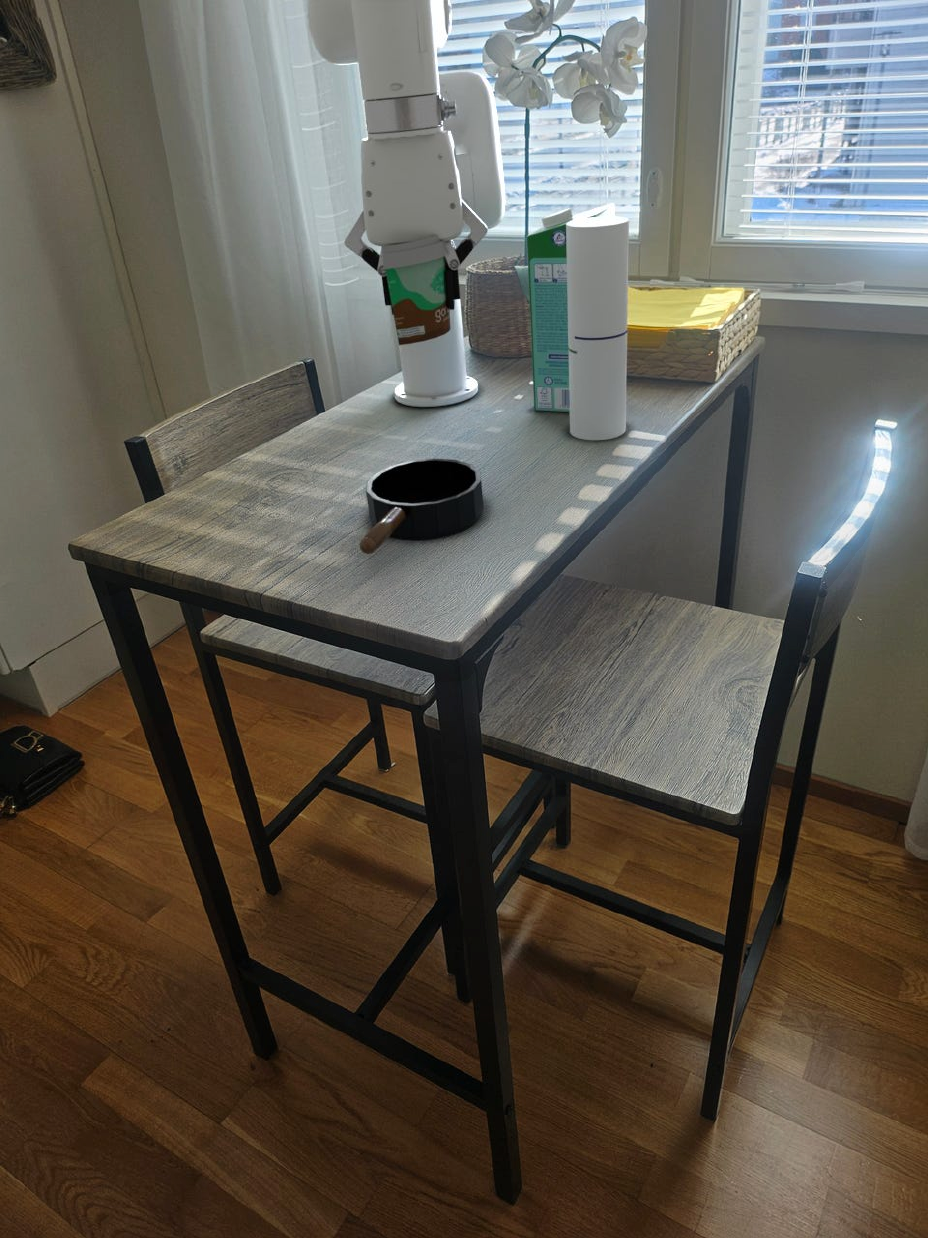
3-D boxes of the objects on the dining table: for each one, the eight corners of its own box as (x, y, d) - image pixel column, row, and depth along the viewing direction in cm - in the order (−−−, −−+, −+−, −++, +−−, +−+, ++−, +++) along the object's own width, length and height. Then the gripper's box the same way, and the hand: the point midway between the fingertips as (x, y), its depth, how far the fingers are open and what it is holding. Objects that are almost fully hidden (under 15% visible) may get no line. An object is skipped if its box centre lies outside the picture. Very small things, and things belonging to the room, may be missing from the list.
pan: (400, 487, 104) (395, 455, 102) (499, 495, 99) (496, 461, 97) (313, 571, 88) (306, 535, 86) (427, 585, 83) (422, 547, 81)
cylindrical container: (604, 444, 110) (605, 228, 96) (558, 433, 114) (553, 225, 101) (636, 426, 114) (641, 217, 101) (591, 417, 118) (590, 215, 105)
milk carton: (553, 389, 129) (547, 204, 116) (613, 392, 126) (614, 201, 113) (533, 410, 123) (525, 215, 109) (597, 414, 119) (596, 213, 106)
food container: (454, 343, 91) (441, 240, 86) (396, 348, 92) (380, 247, 87) (467, 315, 102) (456, 221, 97) (415, 320, 103) (401, 228, 98)
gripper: (490, 109, 89) (501, 295, 99) (322, 125, 90) (349, 308, 99) (492, 111, 83) (503, 310, 92) (311, 129, 83) (341, 324, 93)
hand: (423, 307), depth 96 cm, fingers closed on food container, 5 cm apart
